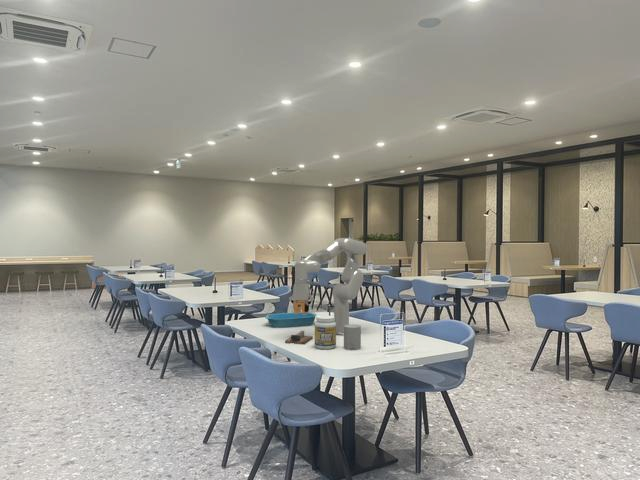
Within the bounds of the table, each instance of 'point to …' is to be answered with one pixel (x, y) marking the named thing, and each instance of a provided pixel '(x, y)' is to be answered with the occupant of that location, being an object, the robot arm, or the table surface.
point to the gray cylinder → (352, 337)
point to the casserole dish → (291, 319)
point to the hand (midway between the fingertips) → (301, 311)
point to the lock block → (300, 307)
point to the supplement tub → (325, 332)
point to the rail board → (303, 340)
